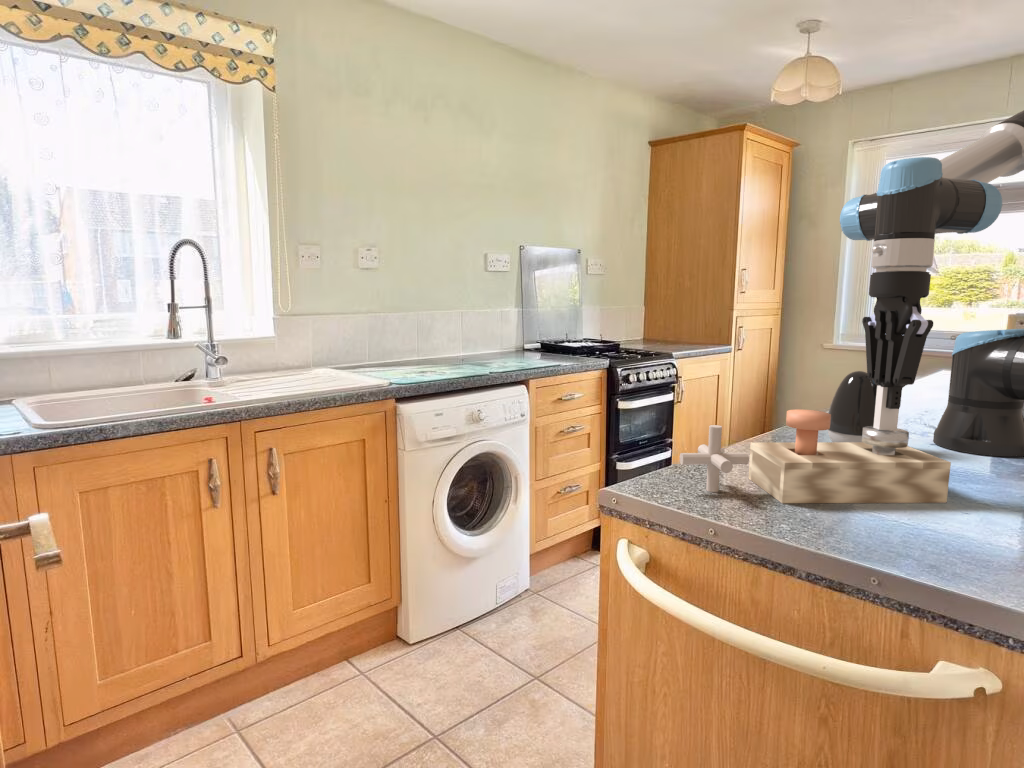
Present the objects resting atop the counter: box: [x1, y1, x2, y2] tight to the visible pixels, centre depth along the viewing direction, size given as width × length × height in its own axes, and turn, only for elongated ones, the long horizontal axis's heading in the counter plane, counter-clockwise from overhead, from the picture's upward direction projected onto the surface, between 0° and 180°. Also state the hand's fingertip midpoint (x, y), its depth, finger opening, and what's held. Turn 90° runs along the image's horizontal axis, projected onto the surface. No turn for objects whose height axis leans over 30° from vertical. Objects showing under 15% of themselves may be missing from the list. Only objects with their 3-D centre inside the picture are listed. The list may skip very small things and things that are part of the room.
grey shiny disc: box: [862, 426, 910, 455], centre depth 94 cm, size 6×6×8 cm
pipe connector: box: [679, 424, 750, 493], centre depth 93 cm, size 10×10×10 cm
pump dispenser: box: [827, 370, 877, 442], centre depth 119 cm, size 10×10×15 cm
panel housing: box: [748, 441, 952, 504], centre depth 94 cm, size 24×12×6 cm, turn 91°
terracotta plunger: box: [785, 408, 831, 455], centre depth 93 cm, size 6×6×8 cm
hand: (885, 428), depth 93 cm, fingers closed
